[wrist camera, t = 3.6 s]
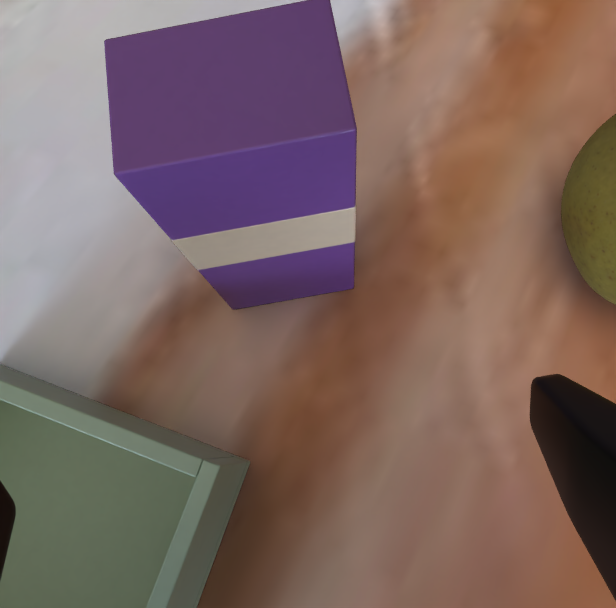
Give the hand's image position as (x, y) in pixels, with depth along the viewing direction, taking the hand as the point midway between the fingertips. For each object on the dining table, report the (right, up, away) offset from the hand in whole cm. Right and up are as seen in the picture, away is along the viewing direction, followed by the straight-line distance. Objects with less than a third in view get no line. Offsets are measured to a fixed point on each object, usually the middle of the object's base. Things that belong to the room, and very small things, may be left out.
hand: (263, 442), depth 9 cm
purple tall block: (0, +4, +15) cm, 16 cm away
